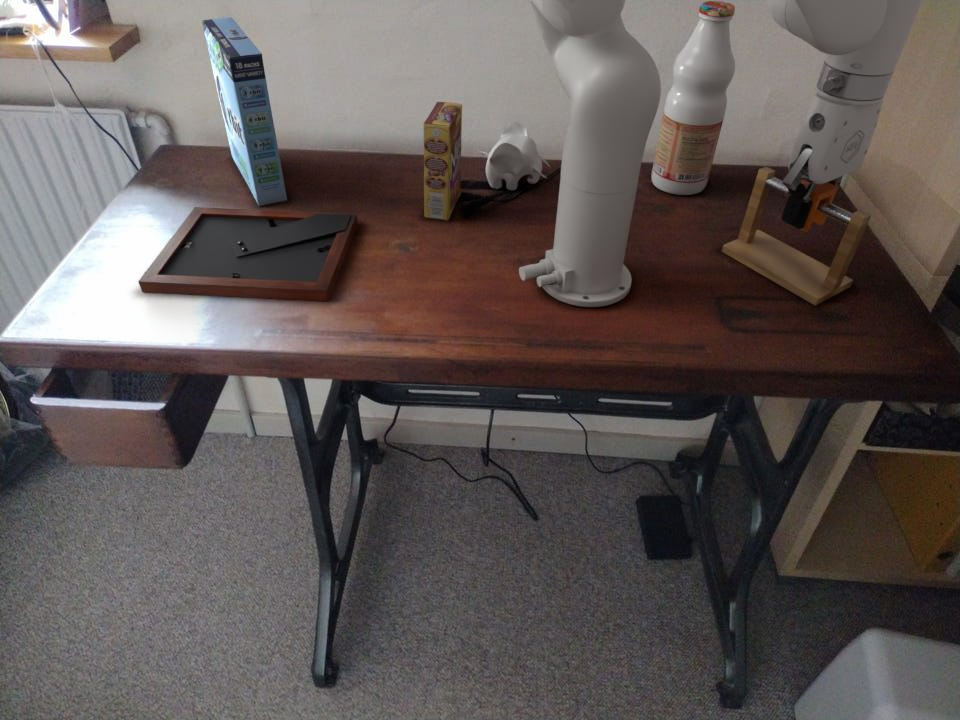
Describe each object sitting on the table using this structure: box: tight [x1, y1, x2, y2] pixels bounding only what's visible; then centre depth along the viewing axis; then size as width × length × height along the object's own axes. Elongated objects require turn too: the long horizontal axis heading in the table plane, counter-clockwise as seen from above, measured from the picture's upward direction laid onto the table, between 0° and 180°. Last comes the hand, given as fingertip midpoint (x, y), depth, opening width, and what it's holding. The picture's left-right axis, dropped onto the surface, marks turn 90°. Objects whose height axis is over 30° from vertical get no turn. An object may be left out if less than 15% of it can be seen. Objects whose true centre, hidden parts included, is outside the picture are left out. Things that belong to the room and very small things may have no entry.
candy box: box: [423, 101, 463, 221], centre depth 105 cm, size 9×4×15 cm, turn 169°
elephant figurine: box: [479, 121, 552, 191], centre depth 113 cm, size 10×12×9 cm
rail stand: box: [721, 166, 872, 306], centre depth 94 cm, size 8×16×12 cm, turn 34°
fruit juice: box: [650, 0, 736, 196], centre depth 108 cm, size 9×9×28 cm
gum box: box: [201, 16, 288, 207], centre depth 108 cm, size 20×5×23 cm, turn 27°
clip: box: [780, 179, 839, 233], centre depth 91 cm, size 4×4×6 cm
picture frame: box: [138, 206, 359, 302], centre depth 98 cm, size 20×2×25 cm
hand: (803, 218), depth 93 cm, fingers closed on clip, 4 cm apart
